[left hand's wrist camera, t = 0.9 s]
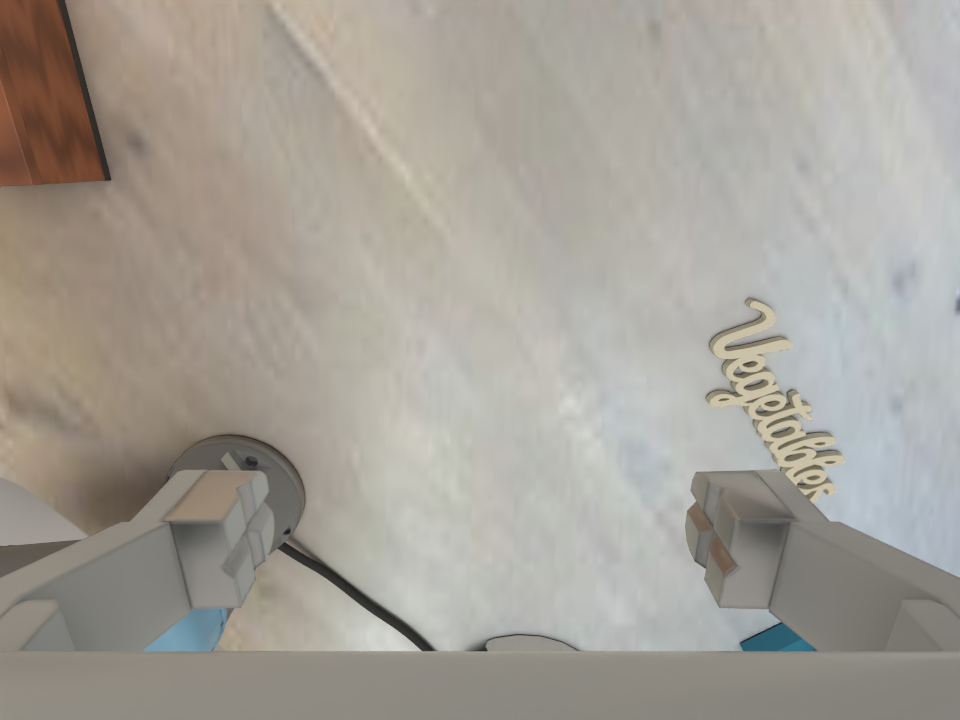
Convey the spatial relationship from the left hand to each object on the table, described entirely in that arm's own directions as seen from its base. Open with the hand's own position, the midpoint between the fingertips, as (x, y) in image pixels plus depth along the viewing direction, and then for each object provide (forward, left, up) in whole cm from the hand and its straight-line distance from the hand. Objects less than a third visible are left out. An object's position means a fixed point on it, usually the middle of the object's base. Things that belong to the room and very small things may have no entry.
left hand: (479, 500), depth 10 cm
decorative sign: (+20, +32, -45) cm, 59 cm away
